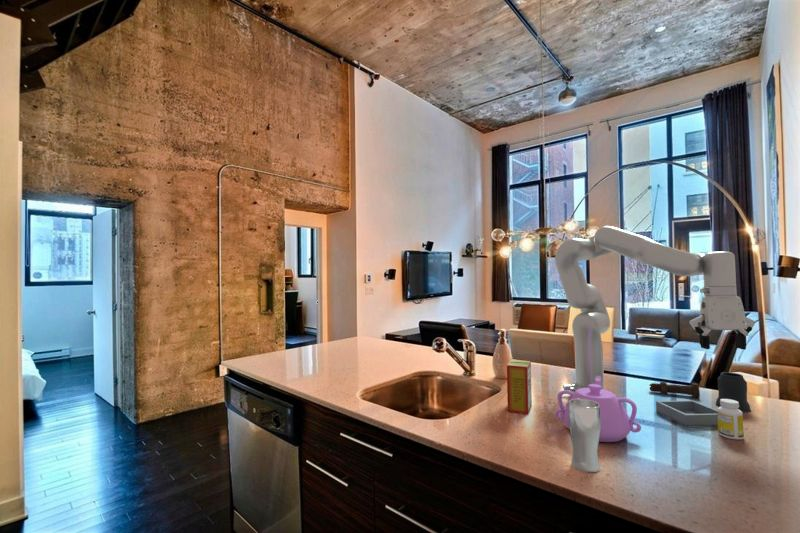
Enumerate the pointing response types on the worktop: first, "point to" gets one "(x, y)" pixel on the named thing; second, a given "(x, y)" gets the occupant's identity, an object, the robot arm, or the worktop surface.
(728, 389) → the mug
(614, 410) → the purple lidded sugar bowl
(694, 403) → the tray
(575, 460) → the beer glass
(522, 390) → the baking soda box
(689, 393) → the bolt
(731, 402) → the supplement bottle
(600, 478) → the worktop surface
